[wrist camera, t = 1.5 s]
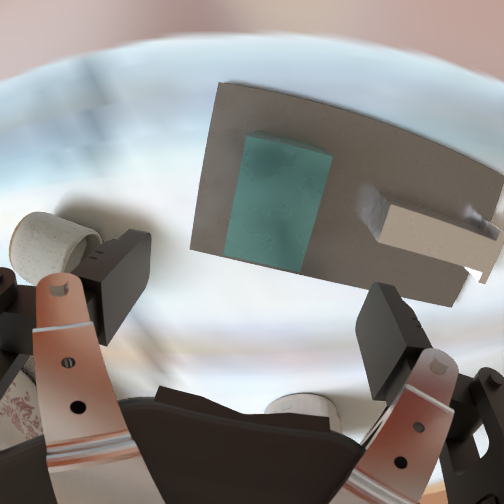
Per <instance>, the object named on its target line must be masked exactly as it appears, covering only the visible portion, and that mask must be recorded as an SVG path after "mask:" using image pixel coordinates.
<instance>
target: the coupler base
mask: <svg viewBox="0 0 504 504" xmlns="http://www.w3.org/2000/svg"><path fill="white" fill-rule="evenodd" d="M254 131H260V132H265V133H269V134H274V135H278V136H282V137H287V138H291V139H295V140H299V141H303V142H307V143H311V144H315V145H318V146H321V147H323V148H324V149H325V150H326V151H327V152H328V153H329V154H330V155H332V156H333V158H332V162H331V166H330V169H329V173H328V177H327V180H326V184H325V188H324V191H323V195H322V198H321V202H320V205H319V209H318V212H317V216H316V219H315V223H314V226H313V230H312V233H311V236H310V240H309V243H308V246H307V250H306V253H305V256H304V259H303V263H302V266H301V269H300V272H296V271H291V270H287V269H283V268H278V267H274V266H269V265H265V264H261V263H256V262H252V261H247V260H243V259H239V258H234V257H230V256H226V255H223V253H224V248H225V243H226V237H227V232H228V227H229V222H230V217H231V212H232V206H233V201H234V196H235V191H236V186H237V181H238V177H239V172H240V167H241V162H242V157H243V152H244V147H245V143H246V138H247V136H248V135H249V134H251V133H252V132H254ZM503 183H504V176H503V175H501V174H499V173H497V172H495V171H493V170H491V169H490V168H488V167H486V166H484V165H482V164H480V163H478V162H476V161H474V160H472V159H470V158H467V157H465V156H463V155H461V154H459V153H457V152H455V151H452V150H450V149H448V148H446V147H443V146H441V145H439V144H436V143H434V142H432V141H429V140H427V139H424V138H422V137H420V136H417V135H414V134H412V133H409V132H407V131H404V130H401V129H399V128H396V127H393V126H391V125H388V124H385V123H382V122H379V121H376V120H373V119H370V118H367V117H364V116H361V115H358V114H355V113H352V112H348V111H345V110H342V109H338V108H335V107H331V106H328V105H324V104H320V103H317V102H313V101H309V100H305V99H301V98H297V97H293V96H288V95H284V94H280V93H275V92H270V91H265V90H260V89H255V88H250V87H245V86H239V85H233V84H227V83H221V82H219V83H218V88H217V93H216V98H215V103H214V108H213V113H212V118H211V123H210V128H209V133H208V139H207V144H206V149H205V155H204V161H203V166H202V172H201V178H200V184H199V190H198V197H197V203H196V210H195V216H194V223H193V230H192V237H191V244H190V250H195V251H199V252H203V253H208V254H212V255H216V256H220V257H225V258H229V259H233V260H238V261H242V262H246V263H251V264H255V265H260V266H264V267H268V268H273V269H277V270H282V271H286V272H290V273H295V274H299V275H304V276H308V277H313V278H317V279H322V280H326V281H331V282H335V283H340V284H344V285H349V286H353V287H358V288H362V289H367V290H370V287H371V286H372V284H373V283H374V282H379V283H384V284H389V285H394V286H395V287H396V289H397V291H398V293H399V295H400V297H404V298H409V299H413V300H418V301H423V302H427V303H432V304H437V305H441V306H446V307H451V308H452V306H453V304H454V302H455V300H456V298H457V296H458V294H459V292H460V290H461V288H462V286H463V284H464V282H465V280H466V278H467V276H468V274H469V273H470V274H471V275H472V276H473V277H474V278H475V279H476V281H477V282H479V283H483V284H485V283H486V281H487V279H488V277H489V275H490V273H491V271H492V269H493V266H494V264H495V262H496V260H497V258H498V255H499V253H500V251H501V248H502V246H503V243H504V231H503V230H502V229H500V228H499V227H498V226H496V225H495V224H493V223H492V222H490V221H491V219H492V216H493V213H494V210H495V208H496V205H497V202H498V199H499V196H500V193H501V190H502V186H503Z"/></svg>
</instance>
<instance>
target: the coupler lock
mask: <svg viewBox="0 0 504 504" xmlns="http://www.w3.org/2000/svg"><path fill="white" fill-rule="evenodd" d="M332 158H333V156H332V155H330V154H329V153H328V152H327V151H326V150H325V149H324V148H323V147H321V146H318V145H315V144H311V143H307V142H303V141H299V140H295V139H291V138H287V137H282V136H278V135H274V134H269V133H265V132H260V131H254V132H252V133H251V134H249V135H248V136H247V138H246V143H245V147H244V152H243V157H242V162H241V167H240V172H239V177H238V181H237V186H236V191H235V196H234V201H233V206H232V212H231V217H230V222H229V227H228V232H227V237H226V243H225V248H224V253H223V255H226V256H230V257H234V258H239V259H243V260H247V261H252V262H256V263H261V264H265V265H269V266H274V267H278V268H283V269H287V270H291V271H296V272H300V269H301V266H302V263H303V259H304V256H305V253H306V250H307V246H308V243H309V240H310V236H311V233H312V230H313V226H314V223H315V219H316V216H317V212H318V209H319V205H320V202H321V198H322V195H323V191H324V188H325V184H326V180H327V177H328V173H329V169H330V166H331V162H332Z"/></svg>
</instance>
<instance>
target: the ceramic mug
mask: <svg viewBox="0 0 504 504" xmlns="http://www.w3.org/2000/svg"><path fill="white" fill-rule="evenodd" d="M102 243H103V242H102V238H101V236H100V234H99V233H98V232H97V231H95V230H93V229H90V228H87V227H84V226H82V225H79V224H76V223H74V222H71V221H68V220H65V219H63V218H60V217H58V216H55V215H53V214H50V213H46V212H32V213H30V214H28V215H27V216H25V217H24V218H23V219H22V220H21V221H20V222H19V224H18V225H17V227H16V228H15V230H14V232H13V235H12V238H11V241H10V246H9V258H10V262H11V265H12V267H13V269H14V270H15V271H16V272H17V273H18V274H19V275H20V276H21V277H22V278H23V279H25V280H26V281H27V282H29V283H31V284H33V285H34V286H37V284H38V282H39V281H40V280H41V279H42V278H44V277H45V276H47V275H50V274H54V273H70V272H71V271H72V270H73V269H75V268H76V267H77V266H78V265H79V264H80V263H81V262H82V261H83V260H84V259H85V258H87V257H88V256H89V255H90V254H91V253H92V252H94V251H95V250H96V249H97V248H98V247H99V246H100V245H101V244H102Z"/></svg>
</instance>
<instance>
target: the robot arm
mask: <svg viewBox="0 0 504 504" xmlns="http://www.w3.org/2000/svg"><path fill="white" fill-rule="evenodd" d="M150 252H151V234H150V233H147V232H143V231H138V230H134V229H129V230H128V231H127V232H125V233H124V234H123V235H122V236H121V237H120V238H119V239H118V240H117V239H112V240H110V241H107V242H105V243H102V244H101V245H100V246H99V247H98V248H97V249H96V250H95V251H94V252H92V253H91V254H90V255H89V256H88V257H87V258H85V259H84V260H83V261H82V262H81V263H80V264H79V265H78V266H77V267H76V268H75V269H73V270H72V271H71V272H70V273H54V274H50V275H47V276H45V277H44V278H42V279H41V280H40V281H39V282H38V284H37V286H27V285H17V281H16V276H15V273H14V272H13V271H12V270H11V269H9V268H4V267H0V400H1V399H2V397H3V396H4V394H5V393H6V391H7V389H8V388H9V386H10V385H11V383H12V382H13V380H14V379H15V377H16V376H17V374H18V373H19V371H20V370H21V368H22V367H23V365H24V364H25V362H26V361H27V360H28V358H29V357H30V355H33V356H34V366H35V377H36V386H37V394H38V402H39V409H40V415H41V421H42V426H43V432H44V434H41V435H39V436H37V437H34V438H32V439H29V440H27V441H24V442H22V443H20V444H17V445H15V446H12V447H10V448H7V449H4V450H2V451H0V504H420V503H419V500H420V499H421V496H422V495H423V492H424V490H425V488H426V486H427V484H428V482H429V479H430V477H431V475H432V472H433V470H434V468H435V465H436V463H437V460H438V458H439V460H440V464H441V468H442V473H443V478H444V483H445V488H446V493H447V498H448V504H504V377H503V376H502V375H501V374H500V373H499V372H497V371H496V370H494V369H491V368H488V367H484V368H481V369H480V370H479V371H478V373H477V374H476V376H475V377H474V378H471V377H468V376H465V375H462V374H460V373H459V369H458V366H457V364H456V362H455V361H454V360H453V359H452V358H451V357H450V356H449V355H448V354H446V353H445V352H443V351H441V350H438V349H434V348H433V347H432V345H431V343H430V341H429V339H428V337H427V335H426V334H425V332H424V330H423V328H421V327H422V326H421V324H420V322H419V321H418V320H417V319H418V318H417V317H416V315H415V313H414V311H413V309H412V308H411V307H410V306H409V305H407V304H406V303H405V302H404V301H403V300H402V298H401V297H400V295H399V293H398V291H397V289H396V287H395V286H394V285H389V284H384V283H379V282H374V283H373V284H372V286H371V287H370V290H369V292H368V294H367V297H366V299H365V302H364V304H363V306H362V308H361V311H360V313H359V315H358V318H357V321H356V328H355V331H356V336H357V340H358V343H359V347H360V351H361V355H362V359H363V362H364V366H365V370H366V374H367V378H368V382H369V387H370V391H371V395H372V399H373V400H378V401H386V402H387V405H386V406H385V408H384V409H383V410H382V412H381V413H380V415H379V416H378V418H377V419H376V421H375V422H374V424H373V425H372V427H371V428H370V430H369V431H368V433H367V434H366V436H365V437H364V438H363V440H362V441H361V443H360V444H359V443H357V442H356V441H354V440H353V439H351V438H349V437H347V436H345V435H343V433H342V424H341V418H339V417H338V416H337V410H336V407H335V405H334V404H333V403H332V402H331V401H329V400H328V399H326V398H324V397H321V396H318V395H313V394H294V395H288V396H285V397H282V398H280V399H277V400H275V401H274V402H272V403H271V404H270V405H269V406H268V407H267V408H266V411H265V414H242V413H239V412H237V411H234V410H232V409H229V408H227V407H225V406H222V405H220V404H218V403H215V402H213V401H211V400H209V399H206V398H204V397H202V396H198V395H194V394H190V393H186V392H182V391H178V390H174V389H170V388H167V387H163V386H159V388H158V391H157V393H156V396H155V397H135V398H128V399H123V400H119V401H117V399H116V396H115V393H114V391H113V388H112V385H111V382H110V379H109V376H108V373H107V369H106V366H105V363H104V360H103V357H102V353H101V350H100V346H99V344H101V345H103V346H106V347H107V346H108V344H109V343H110V341H111V339H112V338H113V336H114V335H115V333H116V332H117V330H118V329H119V327H120V325H121V324H122V322H123V321H124V319H125V318H126V316H127V315H128V313H129V312H130V310H131V309H132V307H133V306H134V304H135V303H136V301H137V300H138V298H139V297H140V295H141V294H142V292H143V291H144V289H145V288H146V285H147V283H148V279H149V272H150ZM482 424H484V427H485V430H486V432H487V435H488V438H489V448H488V450H487V452H486V454H485V455H484V456H483V457H482V458H481V459H480V456H479V453H478V450H477V447H476V443H475V440H474V437H473V434H474V433H475V431H476V430H477V429H478V428H479V427H480V426H481V425H482Z"/></svg>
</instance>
